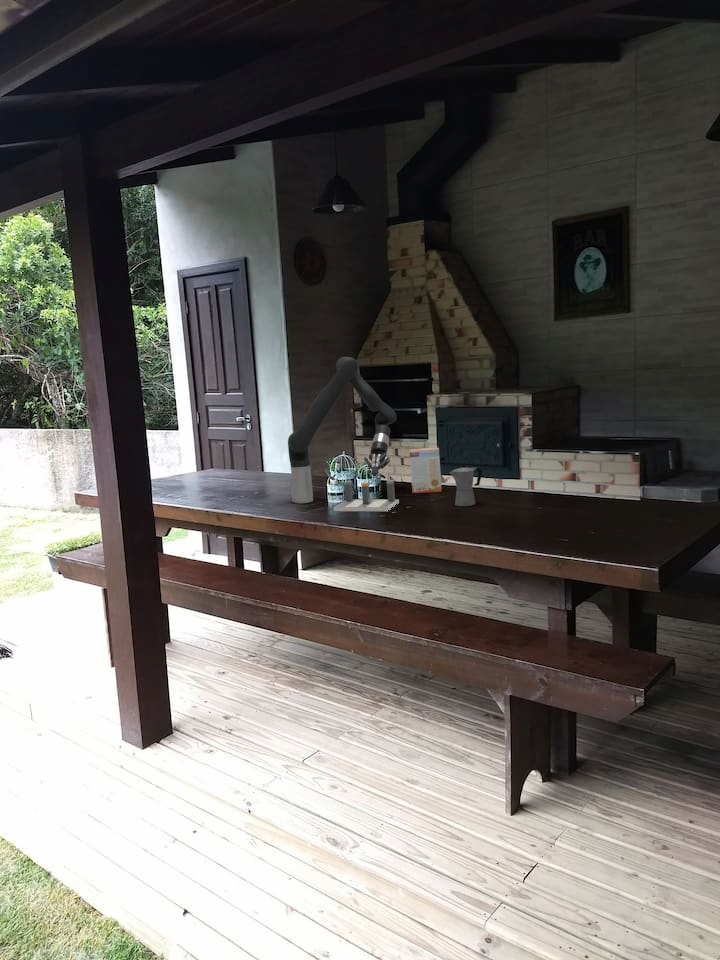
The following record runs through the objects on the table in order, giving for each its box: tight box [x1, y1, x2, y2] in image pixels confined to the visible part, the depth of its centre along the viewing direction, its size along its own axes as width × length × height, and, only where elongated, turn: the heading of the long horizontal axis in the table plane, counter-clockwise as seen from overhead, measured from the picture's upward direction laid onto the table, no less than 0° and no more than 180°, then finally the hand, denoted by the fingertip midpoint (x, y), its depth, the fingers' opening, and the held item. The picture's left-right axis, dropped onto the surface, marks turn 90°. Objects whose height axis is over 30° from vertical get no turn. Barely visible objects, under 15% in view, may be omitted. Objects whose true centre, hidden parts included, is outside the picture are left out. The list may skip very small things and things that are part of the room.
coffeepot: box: [449, 462, 484, 507], centre depth 323 cm, size 15×9×18 cm, turn 107°
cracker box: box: [409, 447, 443, 494], centre depth 356 cm, size 14×6×21 cm, turn 84°
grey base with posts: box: [333, 479, 400, 512], centre depth 332 cm, size 25×17×11 cm
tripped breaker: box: [360, 481, 371, 504], centre depth 332 cm, size 2×3×9 cm
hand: (374, 475), depth 343 cm, fingers closed
